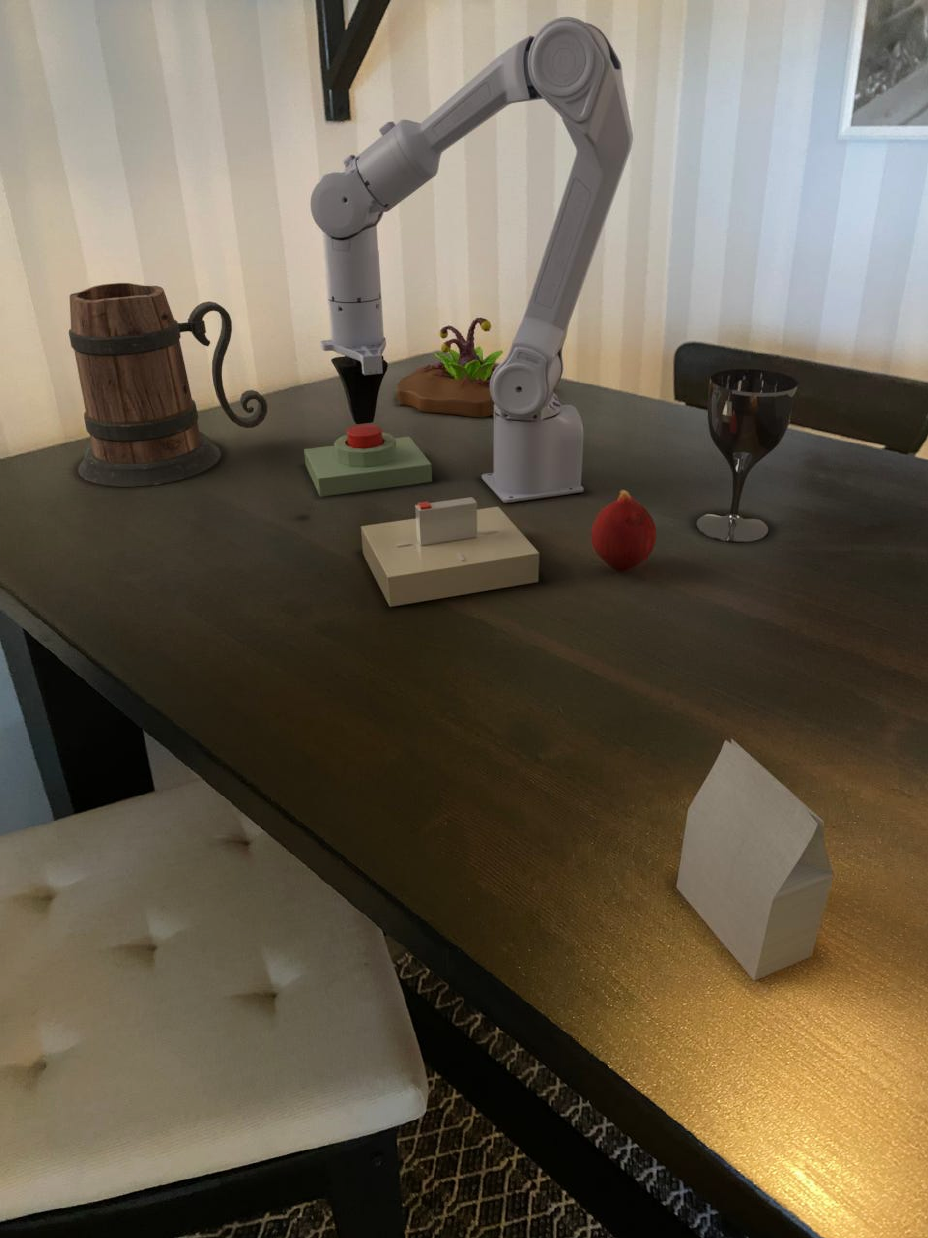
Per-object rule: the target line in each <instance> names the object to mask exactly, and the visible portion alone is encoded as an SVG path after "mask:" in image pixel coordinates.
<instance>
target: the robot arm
mask: <svg viewBox="0 0 928 1238" xmlns="http://www.w3.org/2000/svg"><path fill="white" fill-rule="evenodd" d="M626 94H627V93H626V90H625V84H624V78H623V67H622V63H621V61H620V59H619V57H618V55H617V53H616V51H615V50H614V48H613V45H612V44H611V43H610V41H609V39H608V38H607V36H606V34H605V33H604V32H603V31H602V30H601V29H600V28H598V26H596V25H594V24H592V23H589V22H584V21H583V20H581V19H579V18H576V17H572V16H561V17H558V18H555V19H553V20H550V21H549V22H547V23H546V24H544V25H543V26H542V27H541V28H540V29H539V31H538V32H537V33H536V34H535V36H534V35H529V36H526V37H525V38H523V39H521V40H519V41H518V42H515V44H513V45H512V46H511V47H509V48H508V49H507V50H505V51H504V52H503V53H501V54H500V55H498V56H497V57H496V58H495V59H494V60H492V61H491V62H490V63H489V64H488V65H487V66H485V67H484V68H483V69H482V70H481V71H480V72H478V73H477V74H476V75H475V76H474V77H473V78H472V79H471V80H469V81H468V82H467V83H466V84H465V85H463V86H462V87H461V88H460V89H459V90H458V91H456V92H455V93H454V94H453V95H452V96H451V97H450V98H449V99H447V100H446V101H445V102H444V103H443V104H442V105H440V106H439V107H438V108H437V109H436V110H434V111H433V112H432V113H431V114H430V115H429V116H427V117H426V118H425V119H424V120H423V121H422V122H417V121H413V120H410V119H401V120H400V121H398V122H397V123H395V121H387V122H386V123H385V124H383V125H382V126H381V127H380V128H379V129H378V132H379V133H380V135H381V136H380V137H379V138H377V139H376V140H375V141H374V142H372V143H371V144H370V145H368V147H366V148H365V149H364V150H362V152H361V153H359V154H358V155H355V154H350V155H348V156H347V157H346V158H344V160H343V162H342V163H343V165H344V171H343V172H336V171H335V172H330V173H326V174H324V175H322V177H321V178H320V180H319V181H318V183H316V185H315V186H314V188H313V190H312V193H311V196H310V212H311V215H312V218H313V220H314V222H315V224H316V225H317V227H318V228H319V229H320V230H321V235H322V247H323V262H324V274H325V285H326V297H327V306H328V319H329V330H330V339H326V340H320V342H319V344H320V348H321V351H323V352H331V351H332V352H335V353H337V354H340V355H342V356H336V357H333V358H331V359H330V361H331V363H332V365H333V366H334V368H335V370H336V372H337V374H338V377H339V379H340V381H341V384H342V386H343V390H344V394H345V397H346V401H347V404H348V408H349V412H350V414H351V418H352V420H353V422H354V424H355V425H366V424H372V423H373V424H374V421H375V417H376V412H377V405H378V399H379V391H380V388H381V384H382V381H383V379H384V377H385V375H386V373H387V371H388V368H389V363H388V362H387V360H386V359H385V357H384V356H383V353H384V351H385V349H386V347H387V339H386V337H385V336H384V335H385V334H384V321H383V320H384V317H383V301H382V287H381V285H382V283H381V267H380V265H381V264H380V252H379V251H380V250H379V244H378V243H379V242H378V224H379V223H380V222H381V220H382V218H383V216H384V213H387V212H390V211H391V210H392V209H393V208H395V207H396V206H397V205H399V204H400V203H401V202H403V201H404V200H406V199H407V198H408V197H409V196H410V195H412V194H413V193H414V192H416V191H418V190H419V189H420V188H421V187H422V186H424V185H425V184H427V183H428V182H429V181H431V180H432V179H433V178H435V177H436V176H437V174H438V172H439V166H440V161H441V156H442V153H443V152H445V151H446V150H447V149H449V148H451V147H452V146H453V145H454V144H456V143H458V142H459V141H460V140H461V139H463V138H464V137H466V136H467V135H469V134H470V133H471V132H473V131H474V130H475V129H477V128H478V127H480V126H482V124H484V123H485V122H487V121H488V120H489V119H491V118H492V117H494V116H495V115H497V114H498V113H499V112H501V111H502V110H504V109H505V108H506V107H507V106H509V105H511V104H517V103H524V102H531V101H537V100H538V101H539V100H544V101H545V102H546V103H547V104H548V105H549V106H550V107H551V108H552V109H553V110H554V111H555V112H556V113H557V114H558V115H559V116H560V117H561V121H562V123H563V125H564V126H565V128H566V130H567V133H568V134H569V137H570V139H571V141H572V143H573V145H574V147H575V149H576V153H575V156H574V160H573V163H572V166H571V169H570V172H569V176H568V178H567V182H566V184H565V188H564V191H563V193H562V197H561V199H560V204H559V207H558V209H557V212H556V216H555V219H554V222H553V224H552V228H551V230H550V234H549V237H548V241H547V243H546V246H545V249H544V253H543V255H542V259H541V261H540V265H539V268H538V270H537V274H536V277H535V279H534V283H533V286H532V289H531V293H530V296H529V299H528V302H527V305H526V308H525V310H524V314H523V316H522V319H521V322H520V324H519V326H518V329H517V330H516V333H515V336H514V338H513V340H512V342H511V345H510V348H509V351H508V353H507V355H506V357H505V358H504V359H503V360H502V361H501V362H500V363H499V364H497V365H498V366H497V368H496V369H495V370H494V372H493V374H492V376H491V380H490V393H491V397H492V400H493V401H494V403H495V404H494V415H493V472H488V473H483V474H481V479H482V480H483V482H484V483H485V484H486V485H487V486H488V487H489V488H490V490H492V491H493V493H494V494H495V495H496V496H497V497H498V498H499V499H500V501H502V503H504V504H508V503H509V504H510V503H515V502H516V503H517V502H524V501H530V500H537V499H545V498H551V497H552V498H553V497H559V496H565V495H572V494H579V493H583V492H584V487H583V486H582V473H583V472H582V471H583V469H582V468H583V455H584V454H583V451H584V427H583V421H582V418H581V415H580V413H579V411H578V409H577V408H576V407H575V406H574V405H571V404H561V402H560V401H559V398H558V396H557V394H556V393H555V392H554V389H555V388H556V387H557V385H558V384H559V382H560V381H561V379H562V377H563V373H564V359H563V348H564V345H565V343H566V339H567V335H568V331H569V326H570V323H571V319H572V317H573V314H574V311H575V309H576V305H577V303H578V300H579V297H580V294H581V291H582V289H583V286H584V284H585V280H586V277H587V275H588V272H589V269H590V266H591V264H592V260H593V257H594V255H595V253H596V249H597V247H598V244H599V241H600V238H601V236H602V233H603V230H604V226H605V225H606V221H607V218H608V216H609V213H610V210H611V207H612V204H613V201H614V199H615V195H616V193H617V191H618V188H619V186H620V185H619V184H620V182H621V179H622V176H623V173H624V171H625V167H626V165H627V161H628V160H629V157H630V154H631V151H632V148H633V142H634V135H633V127H632V122H631V118H630V117H631V116H630V111H629V106H628V101H627V100H628V99H627V95H626Z"/></svg>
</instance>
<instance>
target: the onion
mask: <svg viewBox="0 0 928 1238" xmlns="http://www.w3.org/2000/svg"><path fill="white" fill-rule="evenodd" d="M590 539H591V545H592V547H593V549H594V551H595V554H596V555H597V556H598V557H599V558H600V559H601V560H602V561H603V562H604V563H605V564H607V566H609V567H610V568H611V569H612V570H613V571H615V572H617V573H623V572H625V571H628V570H631V569H632V568H635V567H637V566H639V565H640V564H642V563H643V562H645V561H646V560H648V558H649V557H650V555H651V554H652V552H653V550H654V548H655V545H656V540H657V527H656V523H655V521H654V519H653V516H652V515H651V514H650V512H649V511H648V510H647V509H646V508H645V507H644V505H642V504H641V503H640V502H639V501H637V500H635V498H634V497H632V496H631V495H630V492H629V491H627V490H625V489H621V490H620V491H619V495H618V498H617V499H616V500H613V501H612V502H610V503H608V505H606V506H605V507H603V508H602V509H601V510H600V512H599V513H598V514H597V516H596V517H595V520H594V521H593V524H592V526H591V531H590Z"/></svg>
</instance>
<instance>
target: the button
mask: <svg viewBox="0 0 928 1238" xmlns="http://www.w3.org/2000/svg"><path fill="white" fill-rule="evenodd" d="M382 433H383V429H382V427H380V426H377V425H373V424H358V425H354V426H352V427H349V428H348V429H347V430H346V435H347V439H348V446H350V447H353V448H361V449H366V448H374V447H377V446H380V445H382V444H383V440H382Z"/></svg>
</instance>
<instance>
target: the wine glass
mask: <svg viewBox="0 0 928 1238" xmlns="http://www.w3.org/2000/svg"><path fill="white" fill-rule="evenodd" d="M708 384H709V385H708V393H707V404H706V405H707V422H708V430H709V434H710V438H711V440H712V442H713V444H714V445H715V446H716V448H717V449H718V451H719V452H720V453H721V454H722V456H723V457H724V459H725V460H726V461H727V464H728V465H729V468H730V470H731V474H732V475H731V476H732V494H731V495H732V496H731V503H730V504H731V505H730V510H729V511H719V512H718V511H717V512H710V513H707V514H704V515H702V516H700V517H699V518H698V519H697V520H696V522H695V525H696V526H695V527H696V528H697V530H698V531H700V533H702V534H704V535H705V536H707V537H710V538H711V539H716V540H719V541H723V542H732V543H749V542H754V541H758V540H761V539H764V538H765V537H766V536H767V535H768V533H769V527H768V525H767V524H766V523H765V522H764V521H763V520H761V519H759V518H756V517H754V516H752V515H748V514H746V513H740V512H739V509H740V503H741V497H742V493H743V489H744V487H745V483H746V480H747V477H748V475H749V473H750V472H751V471H752V469H753V468H754V466H756V465H757V463H759V462H760V461H761V460H762V459H764V458H765V457H766V456H767V455H769V454H770V453H771V452H772V451H773V450H775V448H776V447H777V446H779V444H780V443H781V442H782V440H783V438H784V437H785V434H786V432H787V429H788V427H789V425H790V422H791V419H792V416H793V414H794V409H795V404H796V399H797V394H798V390H799V389H798V387H799V381H798V380H797V379H796V378H794V377H792V376H790V375H787V374H785V373H781V372H776V371H773V370H764V369H754V368H753V369H752V368H751V369H750V368H738V369H727V370H721V371H718V372H715V373H714V374H712V375H711V376H710V378H709V383H708Z"/></svg>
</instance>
